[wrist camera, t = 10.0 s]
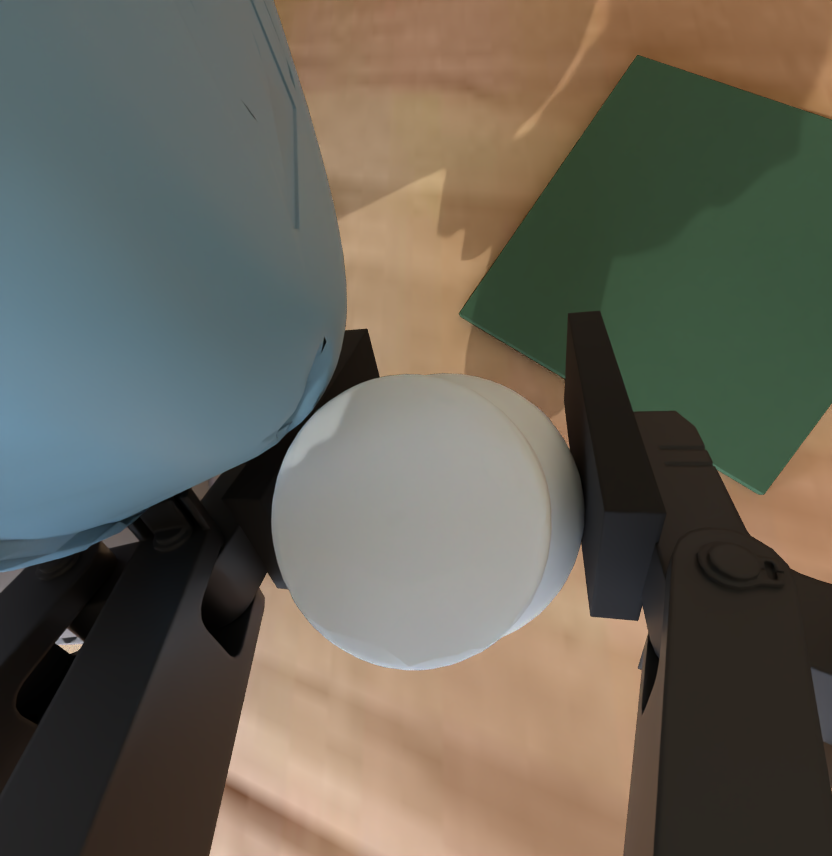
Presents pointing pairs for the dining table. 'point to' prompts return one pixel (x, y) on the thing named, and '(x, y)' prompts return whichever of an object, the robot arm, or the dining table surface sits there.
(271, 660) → the dining table surface
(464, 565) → the pill bottle
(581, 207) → the green mat
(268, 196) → the robot arm
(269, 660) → the dining table surface
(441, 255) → the dining table surface
